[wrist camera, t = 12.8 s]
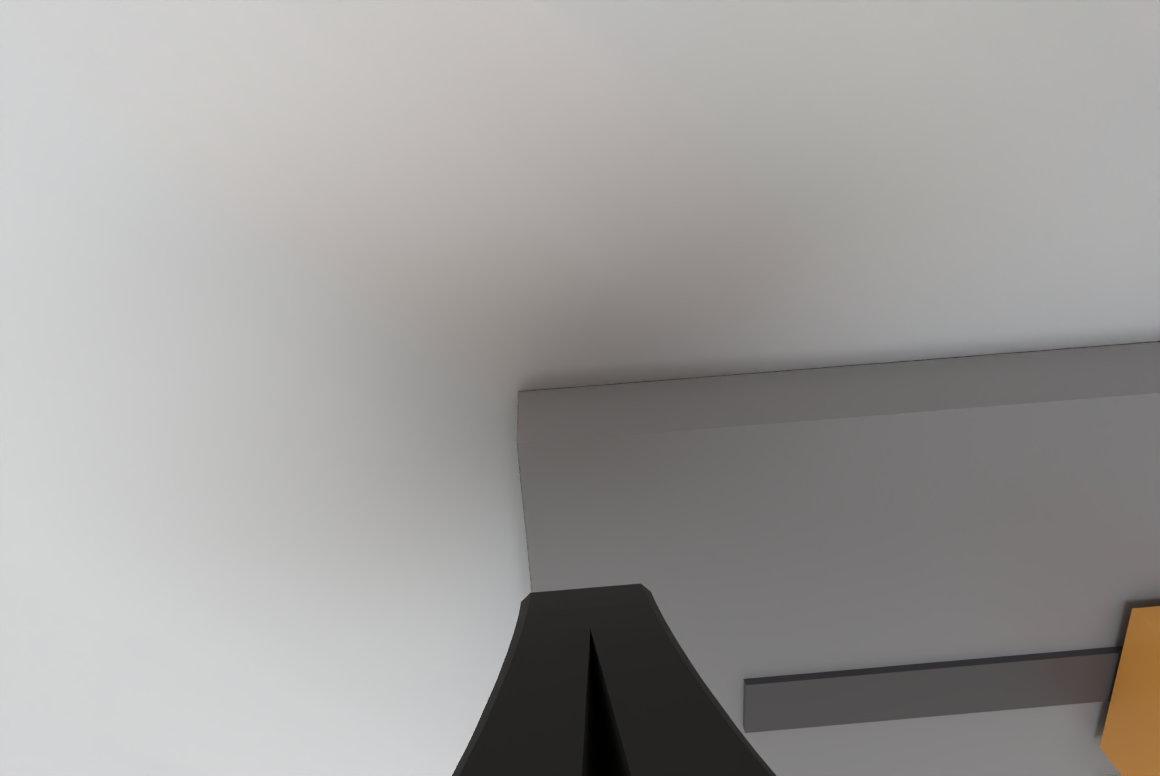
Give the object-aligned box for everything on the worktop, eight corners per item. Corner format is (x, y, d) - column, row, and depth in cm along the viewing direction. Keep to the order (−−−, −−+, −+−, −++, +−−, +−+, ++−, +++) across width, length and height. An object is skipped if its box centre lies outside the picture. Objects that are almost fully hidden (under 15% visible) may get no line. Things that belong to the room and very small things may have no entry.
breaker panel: (1320, 329, 20) (1433, 375, 17) (1186, 786, 25) (1256, 870, 23) (518, 392, 19) (516, 448, 17) (562, 843, 25) (566, 936, 22)
